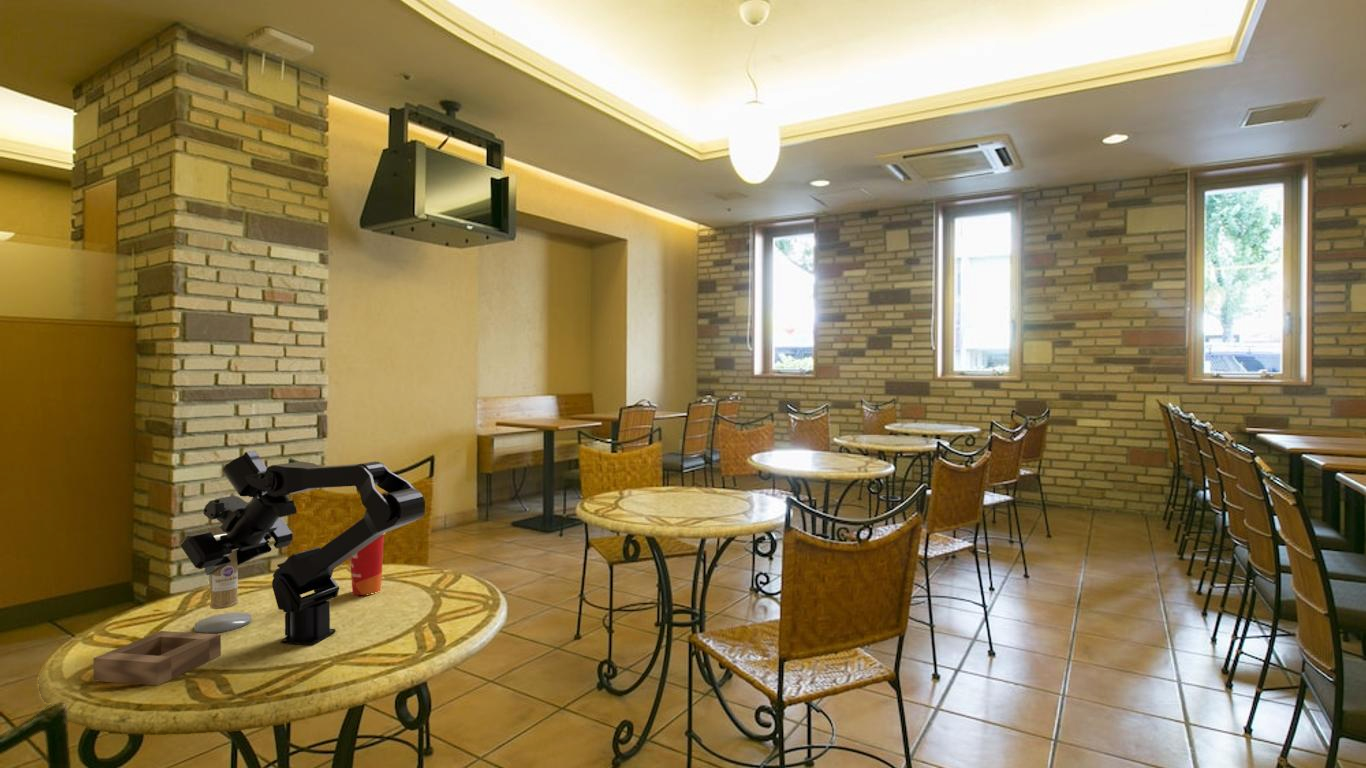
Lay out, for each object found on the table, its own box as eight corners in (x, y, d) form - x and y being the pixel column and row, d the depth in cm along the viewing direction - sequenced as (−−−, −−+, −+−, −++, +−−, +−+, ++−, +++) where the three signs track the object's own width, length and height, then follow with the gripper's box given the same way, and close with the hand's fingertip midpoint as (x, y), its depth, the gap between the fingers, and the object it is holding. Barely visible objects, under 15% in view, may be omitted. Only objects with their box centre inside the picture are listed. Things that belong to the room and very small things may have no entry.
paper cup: (350, 588, 151) (350, 525, 151) (387, 585, 154) (387, 523, 154) (344, 599, 144) (343, 533, 144) (383, 595, 146) (383, 530, 146)
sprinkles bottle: (220, 611, 126) (219, 538, 126) (204, 608, 128) (202, 537, 128) (244, 603, 130) (243, 533, 130) (228, 600, 132) (227, 531, 132)
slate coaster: (262, 617, 133) (262, 613, 133) (225, 634, 124) (225, 630, 124) (222, 615, 134) (222, 611, 134) (181, 632, 125) (181, 627, 125)
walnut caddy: (220, 655, 114) (220, 634, 114) (158, 685, 103) (158, 662, 103) (161, 651, 116) (161, 630, 116) (93, 680, 105) (93, 658, 105)
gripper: (281, 476, 136) (241, 528, 140) (187, 490, 119) (144, 549, 122) (312, 517, 134) (271, 569, 137) (220, 538, 116) (176, 597, 120)
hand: (218, 569), depth 129 cm, fingers closed on sprinkles bottle, 4 cm apart
